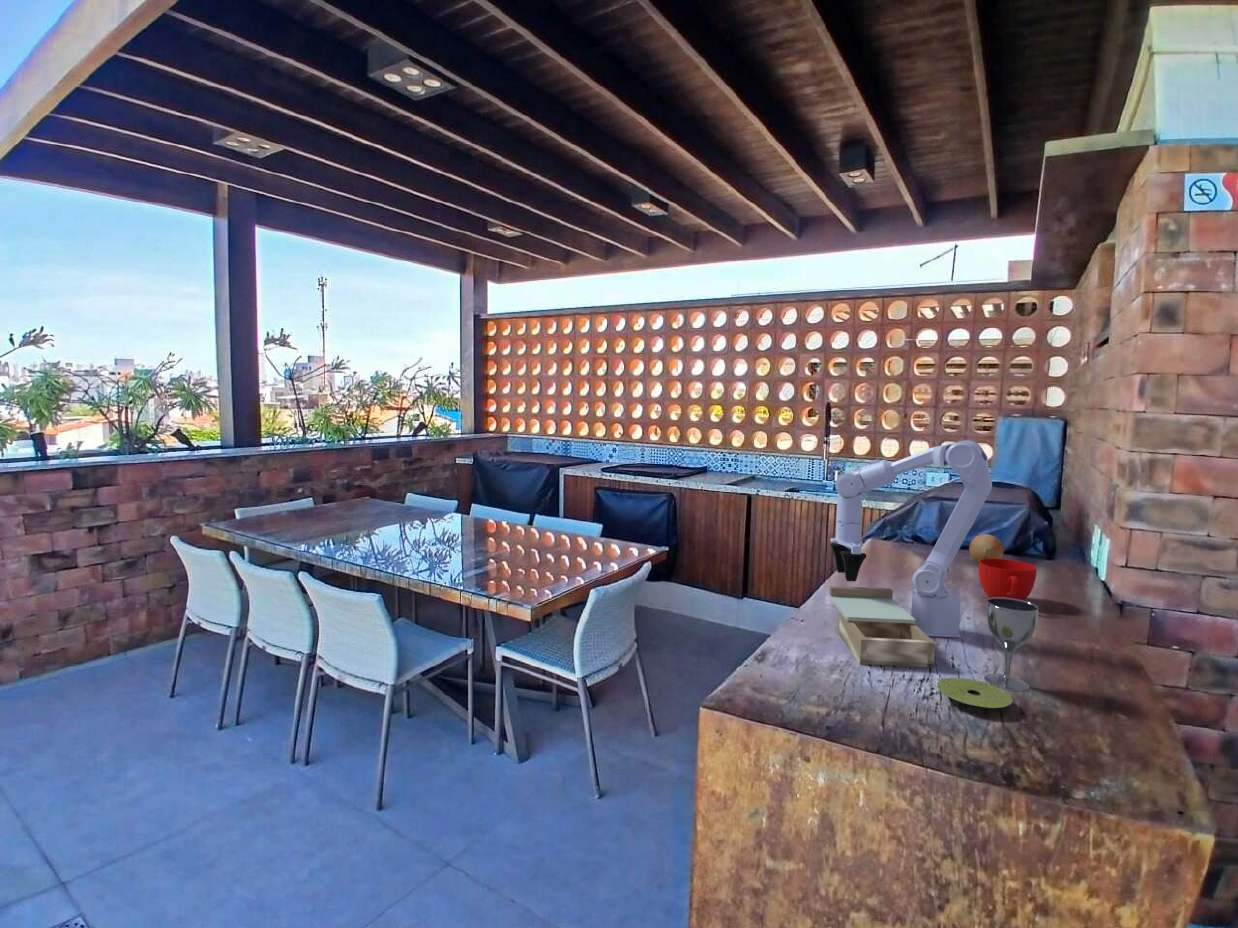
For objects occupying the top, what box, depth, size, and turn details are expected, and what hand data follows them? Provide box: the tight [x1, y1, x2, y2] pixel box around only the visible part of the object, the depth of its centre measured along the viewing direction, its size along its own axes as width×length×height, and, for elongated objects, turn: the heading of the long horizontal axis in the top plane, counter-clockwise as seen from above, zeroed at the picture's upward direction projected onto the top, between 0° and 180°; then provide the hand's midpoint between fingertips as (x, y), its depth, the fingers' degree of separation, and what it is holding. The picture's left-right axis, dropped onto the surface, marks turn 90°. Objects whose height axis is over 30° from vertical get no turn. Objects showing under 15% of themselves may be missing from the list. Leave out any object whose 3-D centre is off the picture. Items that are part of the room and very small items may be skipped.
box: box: [838, 612, 936, 669], centre depth 128 cm, size 14×16×5 cm
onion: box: [968, 533, 1005, 563], centre depth 202 cm, size 10×10×10 cm
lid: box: [828, 585, 916, 624], centre depth 138 cm, size 14×16×3 cm
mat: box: [936, 677, 1013, 709], centre depth 106 cm, size 11×11×2 cm
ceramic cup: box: [978, 558, 1038, 601], centre depth 161 cm, size 13×17×10 cm
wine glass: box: [984, 597, 1039, 692], centre depth 113 cm, size 8×8×15 cm
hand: (846, 576), depth 150 cm, fingers open, 7 cm apart
